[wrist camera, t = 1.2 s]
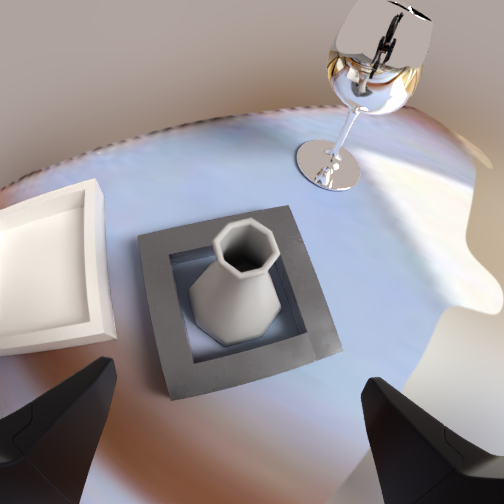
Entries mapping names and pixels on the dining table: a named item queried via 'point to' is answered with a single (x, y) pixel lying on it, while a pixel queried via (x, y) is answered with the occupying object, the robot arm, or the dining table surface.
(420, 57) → the wineglass
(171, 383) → the holder
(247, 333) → the flask
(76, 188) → the tray
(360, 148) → the dining table surface
